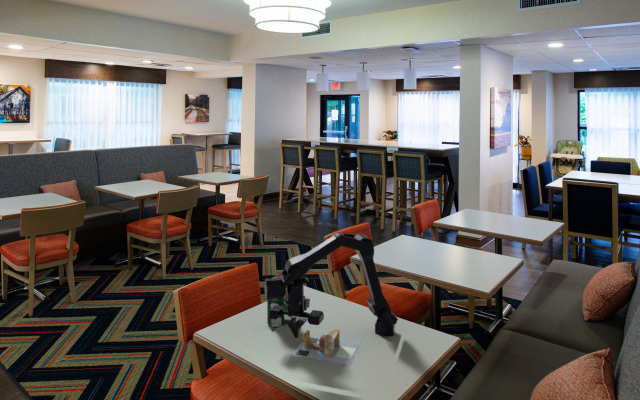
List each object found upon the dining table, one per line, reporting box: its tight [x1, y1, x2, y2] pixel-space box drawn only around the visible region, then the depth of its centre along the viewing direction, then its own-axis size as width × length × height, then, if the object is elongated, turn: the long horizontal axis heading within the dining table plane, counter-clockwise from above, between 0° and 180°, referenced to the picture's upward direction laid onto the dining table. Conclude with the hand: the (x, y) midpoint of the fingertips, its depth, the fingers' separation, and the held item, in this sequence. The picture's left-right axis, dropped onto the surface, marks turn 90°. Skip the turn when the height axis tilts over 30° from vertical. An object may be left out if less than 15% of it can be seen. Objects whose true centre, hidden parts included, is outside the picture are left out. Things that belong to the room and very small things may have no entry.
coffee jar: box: [266, 275, 288, 329], centre depth 177 cm, size 10×8×19 cm
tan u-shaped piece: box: [302, 329, 327, 352], centre depth 156 cm, size 10×4×5 cm, turn 72°
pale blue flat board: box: [292, 336, 361, 366], centre depth 155 cm, size 20×14×1 cm
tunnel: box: [324, 328, 341, 357], centre depth 154 cm, size 3×8×6 cm, turn 162°
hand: (296, 337), depth 158 cm, fingers closed
